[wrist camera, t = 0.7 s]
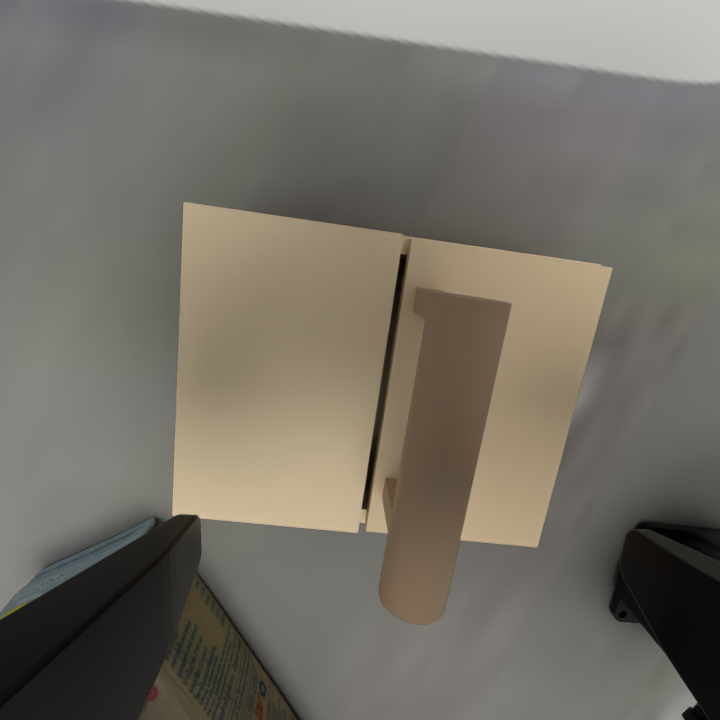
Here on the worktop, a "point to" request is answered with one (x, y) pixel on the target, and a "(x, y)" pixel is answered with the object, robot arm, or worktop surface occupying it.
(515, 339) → the cabinet door with handle
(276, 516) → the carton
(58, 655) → the robot arm
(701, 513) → the worktop surface
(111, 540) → the beverage carton
